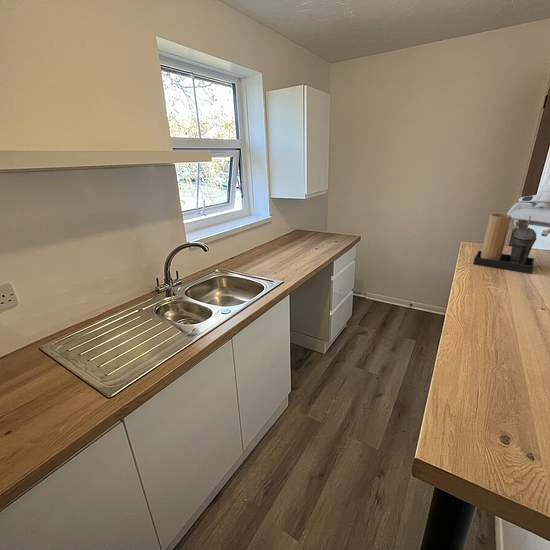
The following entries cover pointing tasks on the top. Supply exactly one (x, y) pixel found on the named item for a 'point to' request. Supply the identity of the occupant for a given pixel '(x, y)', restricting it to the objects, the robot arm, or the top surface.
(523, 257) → the beverage cup
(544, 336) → the top surface
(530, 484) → the top surface
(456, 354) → the top surface
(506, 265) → the tray
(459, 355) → the top surface
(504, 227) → the wooden cylinder
